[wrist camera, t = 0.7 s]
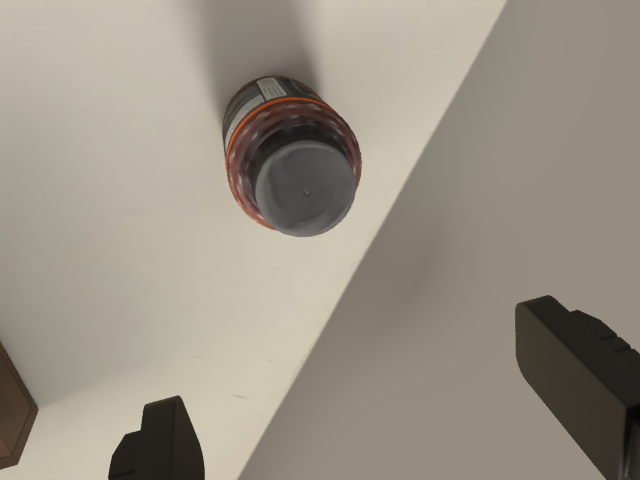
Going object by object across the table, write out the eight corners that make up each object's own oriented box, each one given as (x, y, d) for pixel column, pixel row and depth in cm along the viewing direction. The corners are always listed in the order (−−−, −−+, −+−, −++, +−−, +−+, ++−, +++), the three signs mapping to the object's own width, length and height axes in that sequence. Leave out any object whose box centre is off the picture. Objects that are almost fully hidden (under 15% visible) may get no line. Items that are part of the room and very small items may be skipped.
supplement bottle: (345, 133, 32) (410, 200, 22) (267, 196, 33) (296, 289, 23) (281, 49, 29) (321, 81, 19) (198, 120, 30) (196, 187, 20)
